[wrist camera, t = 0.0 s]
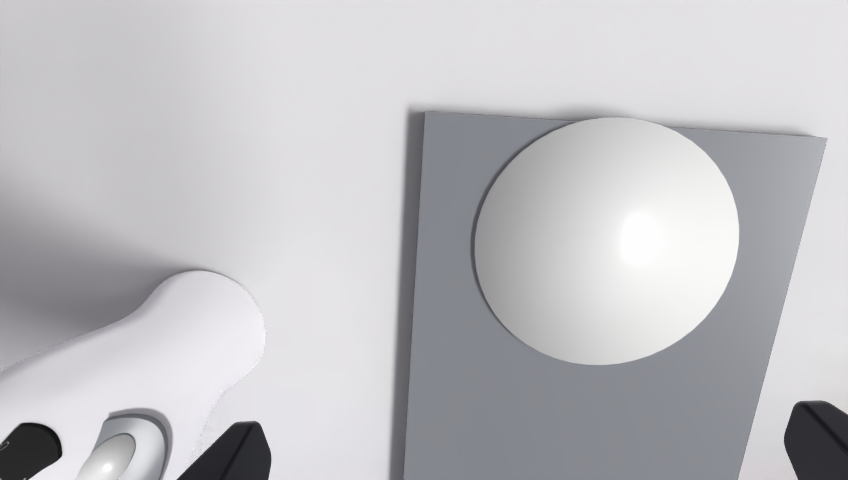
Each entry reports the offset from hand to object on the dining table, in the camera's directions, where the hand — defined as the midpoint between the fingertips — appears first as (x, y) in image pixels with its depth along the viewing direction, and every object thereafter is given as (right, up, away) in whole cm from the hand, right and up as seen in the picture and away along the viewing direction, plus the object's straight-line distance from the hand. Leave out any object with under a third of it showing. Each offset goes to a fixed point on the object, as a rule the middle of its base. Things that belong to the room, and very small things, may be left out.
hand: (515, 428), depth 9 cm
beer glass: (-12, -1, +18) cm, 21 cm away
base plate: (+6, -3, +17) cm, 18 cm away
